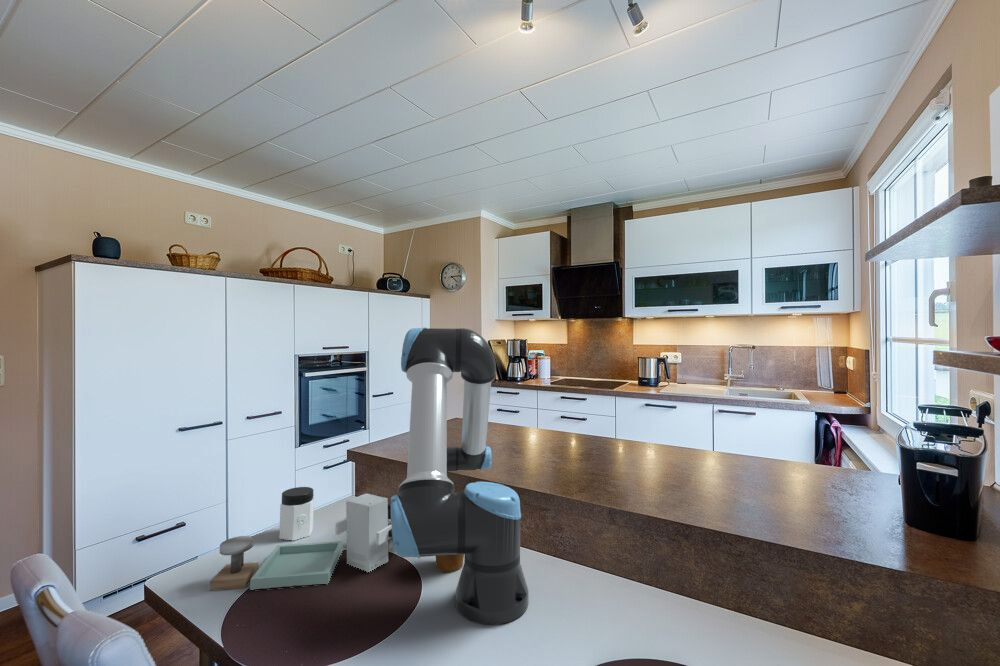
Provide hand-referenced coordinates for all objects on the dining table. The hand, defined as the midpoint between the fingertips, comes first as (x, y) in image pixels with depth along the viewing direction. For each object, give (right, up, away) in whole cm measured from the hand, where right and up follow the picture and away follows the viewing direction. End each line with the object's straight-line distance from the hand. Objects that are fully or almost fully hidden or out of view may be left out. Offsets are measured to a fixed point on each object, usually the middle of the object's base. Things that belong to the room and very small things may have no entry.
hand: (356, 533), depth 97 cm
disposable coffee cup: (+22, -9, +2) cm, 24 cm away
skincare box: (+1, -9, +3) cm, 9 cm away
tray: (-13, -8, 0) cm, 16 cm away
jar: (-24, -10, +19) cm, 32 cm away
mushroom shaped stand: (-26, -8, -5) cm, 27 cm away
